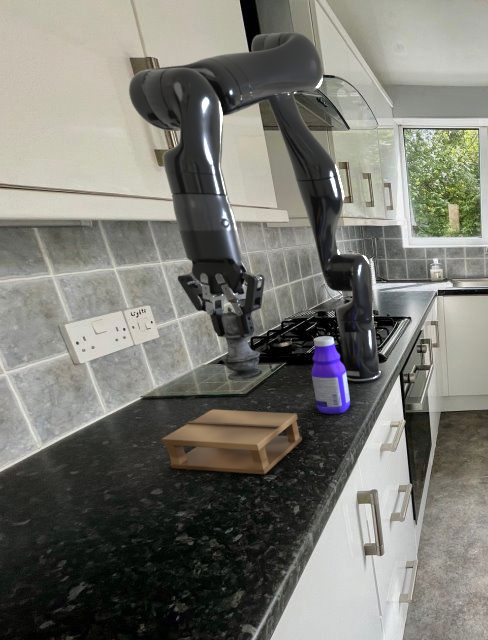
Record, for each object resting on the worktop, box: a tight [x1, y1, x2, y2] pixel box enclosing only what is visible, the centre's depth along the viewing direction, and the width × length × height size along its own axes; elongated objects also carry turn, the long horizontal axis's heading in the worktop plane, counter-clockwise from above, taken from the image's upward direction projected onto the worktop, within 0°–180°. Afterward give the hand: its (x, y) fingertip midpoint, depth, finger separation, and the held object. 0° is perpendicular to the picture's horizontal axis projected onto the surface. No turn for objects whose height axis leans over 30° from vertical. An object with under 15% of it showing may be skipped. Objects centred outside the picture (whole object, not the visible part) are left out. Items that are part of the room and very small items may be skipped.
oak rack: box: [160, 409, 303, 475], centre depth 77 cm, size 12×18×6 cm, turn 84°
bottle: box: [310, 335, 351, 415], centre depth 92 cm, size 7×6×17 cm
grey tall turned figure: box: [220, 307, 263, 382], centre depth 70 cm, size 6×6×12 cm
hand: (235, 335), depth 69 cm, fingers closed on grey tall turned figure, 3 cm apart
